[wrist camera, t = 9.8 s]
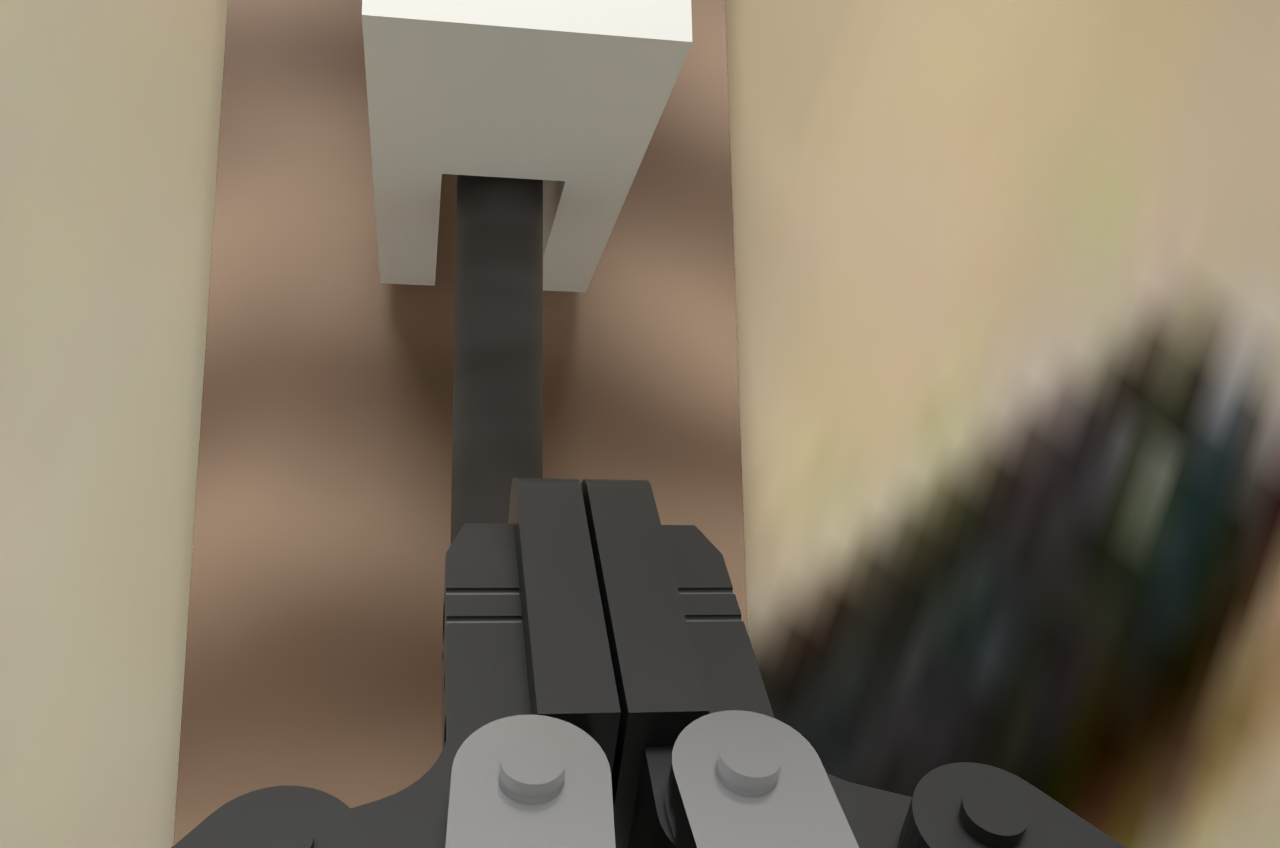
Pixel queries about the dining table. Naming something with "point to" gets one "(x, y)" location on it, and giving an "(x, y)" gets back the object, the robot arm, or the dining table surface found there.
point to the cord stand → (419, 403)
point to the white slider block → (515, 115)
